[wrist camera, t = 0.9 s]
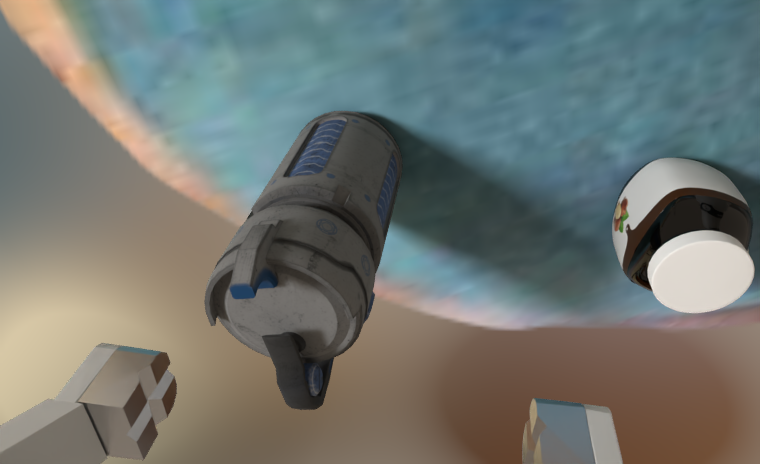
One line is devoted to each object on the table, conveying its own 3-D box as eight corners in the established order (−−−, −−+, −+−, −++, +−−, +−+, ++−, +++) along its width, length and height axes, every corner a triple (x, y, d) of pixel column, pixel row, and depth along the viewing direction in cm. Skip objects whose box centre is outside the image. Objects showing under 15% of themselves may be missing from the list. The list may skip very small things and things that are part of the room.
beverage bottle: (320, 226, 58) (231, 433, 37) (282, 105, 51) (148, 279, 30) (416, 217, 55) (378, 433, 35) (391, 89, 48) (325, 266, 28)
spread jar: (646, 136, 47) (687, 209, 38) (775, 170, 47) (848, 252, 38) (586, 246, 54) (608, 330, 45) (699, 275, 54) (744, 366, 45)
